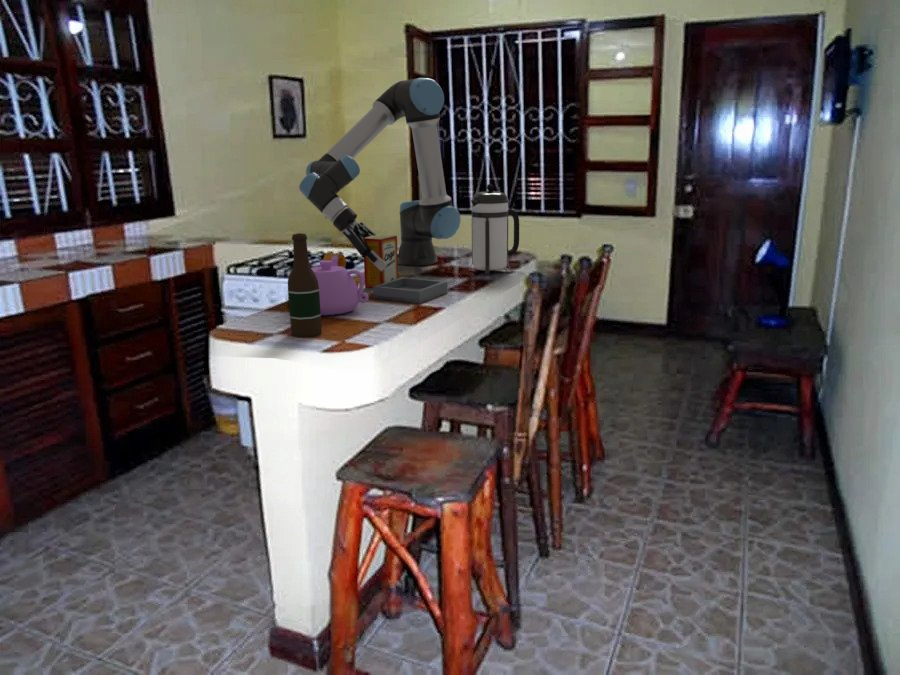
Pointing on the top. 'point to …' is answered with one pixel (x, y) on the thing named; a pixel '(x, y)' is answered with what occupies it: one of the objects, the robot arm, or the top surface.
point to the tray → (410, 290)
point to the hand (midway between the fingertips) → (389, 265)
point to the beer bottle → (303, 292)
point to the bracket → (340, 260)
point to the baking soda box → (388, 253)
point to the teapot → (338, 287)
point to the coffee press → (492, 230)
